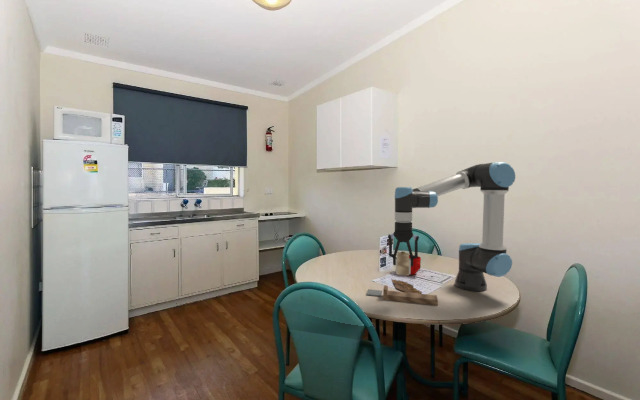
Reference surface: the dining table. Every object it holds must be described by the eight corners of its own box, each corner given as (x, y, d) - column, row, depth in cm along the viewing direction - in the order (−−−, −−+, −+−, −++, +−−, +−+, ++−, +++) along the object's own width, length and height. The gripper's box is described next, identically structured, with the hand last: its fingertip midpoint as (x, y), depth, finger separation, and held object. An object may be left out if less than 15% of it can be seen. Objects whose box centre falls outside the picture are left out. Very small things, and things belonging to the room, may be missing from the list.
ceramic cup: (409, 279, 166) (410, 262, 166) (394, 271, 183) (394, 255, 182) (429, 277, 170) (429, 260, 169) (412, 269, 186) (412, 254, 186)
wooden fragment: (426, 296, 142) (426, 293, 142) (405, 297, 140) (405, 295, 140) (402, 279, 167) (403, 277, 167) (384, 280, 165) (384, 278, 165)
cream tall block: (408, 272, 132) (409, 251, 132) (408, 275, 127) (409, 253, 127) (397, 271, 134) (397, 250, 133) (397, 274, 129) (397, 253, 128)
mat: (382, 291, 147) (382, 290, 147) (380, 296, 140) (380, 295, 140) (368, 290, 149) (368, 289, 149) (366, 295, 142) (366, 294, 142)
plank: (436, 300, 135) (436, 290, 135) (437, 305, 130) (437, 294, 129) (384, 294, 143) (384, 285, 142) (383, 299, 137) (383, 289, 137)
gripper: (424, 221, 130) (423, 271, 131) (383, 220, 136) (383, 268, 137) (425, 223, 123) (424, 276, 124) (382, 221, 128) (381, 273, 129)
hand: (403, 272), depth 130 cm, fingers closed on cream tall block, 5 cm apart
